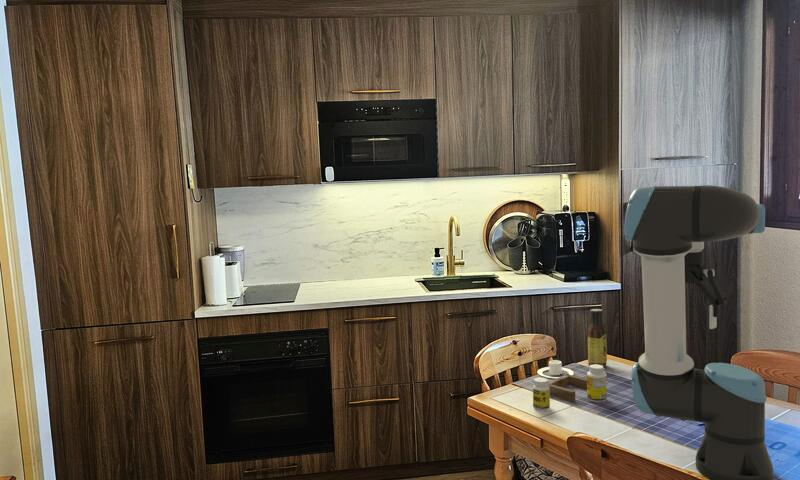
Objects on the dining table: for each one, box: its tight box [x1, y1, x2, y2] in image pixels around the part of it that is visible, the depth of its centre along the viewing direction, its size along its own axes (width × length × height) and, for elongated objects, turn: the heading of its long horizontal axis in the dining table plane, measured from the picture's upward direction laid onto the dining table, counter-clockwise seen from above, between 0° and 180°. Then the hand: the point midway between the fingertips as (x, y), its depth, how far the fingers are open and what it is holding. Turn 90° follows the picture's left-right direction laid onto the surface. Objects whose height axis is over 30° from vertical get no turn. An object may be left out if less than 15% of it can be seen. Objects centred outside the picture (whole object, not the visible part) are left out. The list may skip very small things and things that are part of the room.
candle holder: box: [536, 359, 575, 379], centre depth 206 cm, size 12×12×4 cm
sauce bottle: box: [587, 308, 608, 369], centre depth 211 cm, size 7×6×20 cm
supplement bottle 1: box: [532, 377, 551, 411], centre depth 176 cm, size 5×5×8 cm
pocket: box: [548, 373, 587, 403], centre depth 188 cm, size 13×10×3 cm
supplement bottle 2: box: [586, 364, 608, 403], centre depth 181 cm, size 6×6×10 cm
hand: (688, 324), depth 174 cm, fingers open, 13 cm apart
